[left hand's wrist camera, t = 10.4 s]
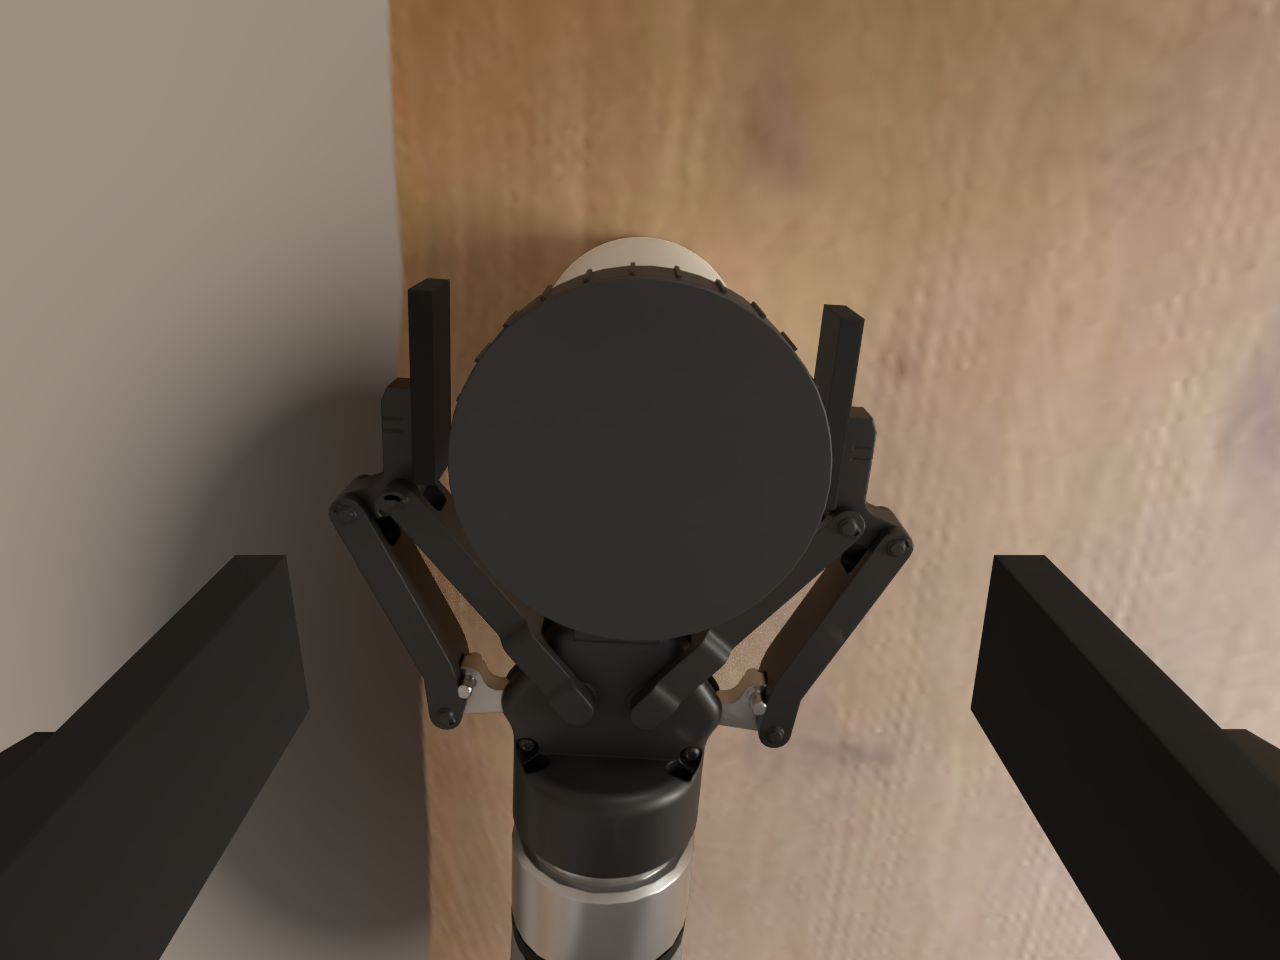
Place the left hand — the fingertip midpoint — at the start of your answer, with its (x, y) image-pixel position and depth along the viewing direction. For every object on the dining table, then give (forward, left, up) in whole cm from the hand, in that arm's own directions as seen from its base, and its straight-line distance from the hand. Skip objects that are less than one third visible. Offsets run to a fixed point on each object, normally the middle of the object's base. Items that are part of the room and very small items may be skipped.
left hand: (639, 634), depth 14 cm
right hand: (-3, -1, -17) cm, 17 cm away
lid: (0, 0, -8) cm, 8 cm away
